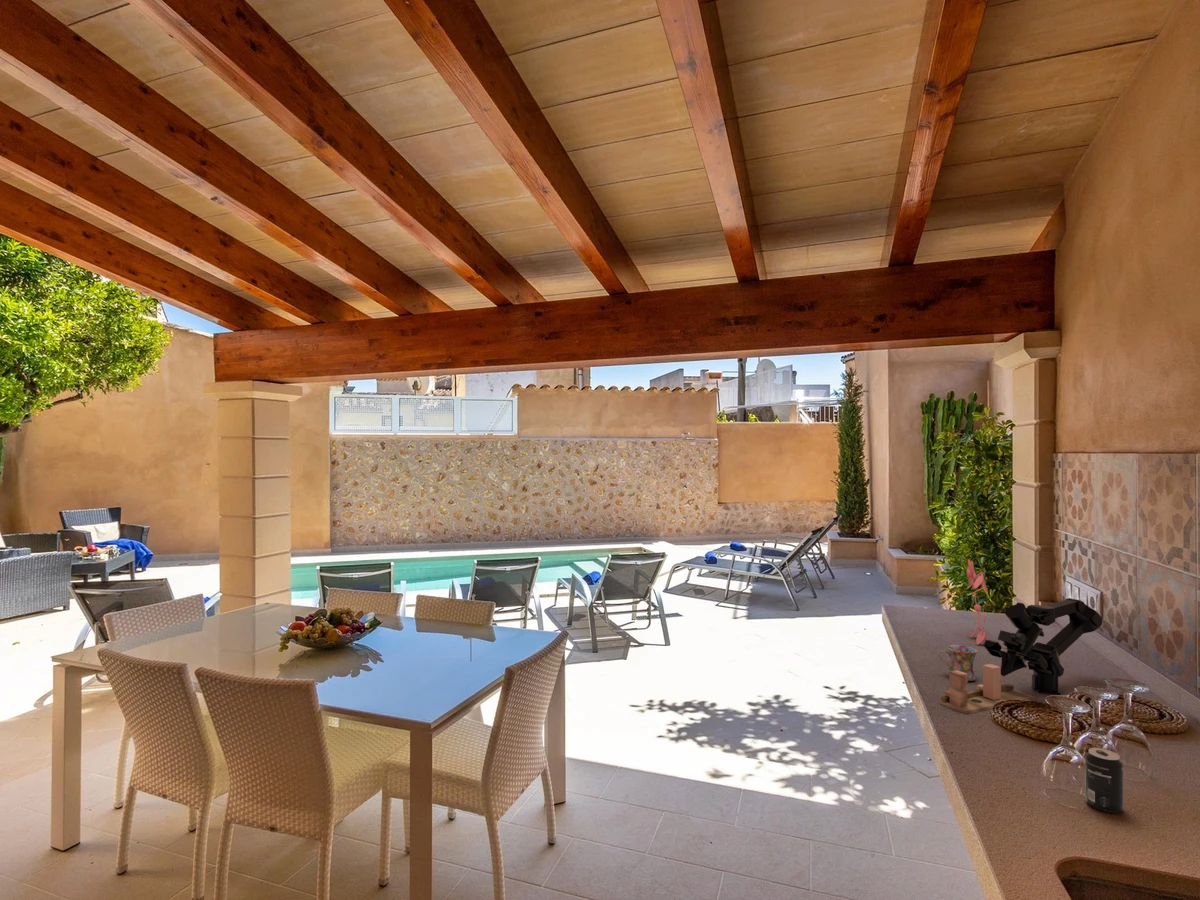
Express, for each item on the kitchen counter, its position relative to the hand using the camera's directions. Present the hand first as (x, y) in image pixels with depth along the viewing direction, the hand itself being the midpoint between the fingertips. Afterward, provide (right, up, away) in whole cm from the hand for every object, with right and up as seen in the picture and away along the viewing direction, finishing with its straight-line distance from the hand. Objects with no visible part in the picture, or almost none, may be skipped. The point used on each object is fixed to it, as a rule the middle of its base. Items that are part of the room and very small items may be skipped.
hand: (1002, 675), depth 212 cm
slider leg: (-5, -7, -1) cm, 8 cm away
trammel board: (-6, -8, -3) cm, 10 cm away
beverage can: (-18, -7, -66) cm, 68 cm away
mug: (-3, -8, +20) cm, 22 cm away
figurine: (+28, -9, +68) cm, 74 cm away
